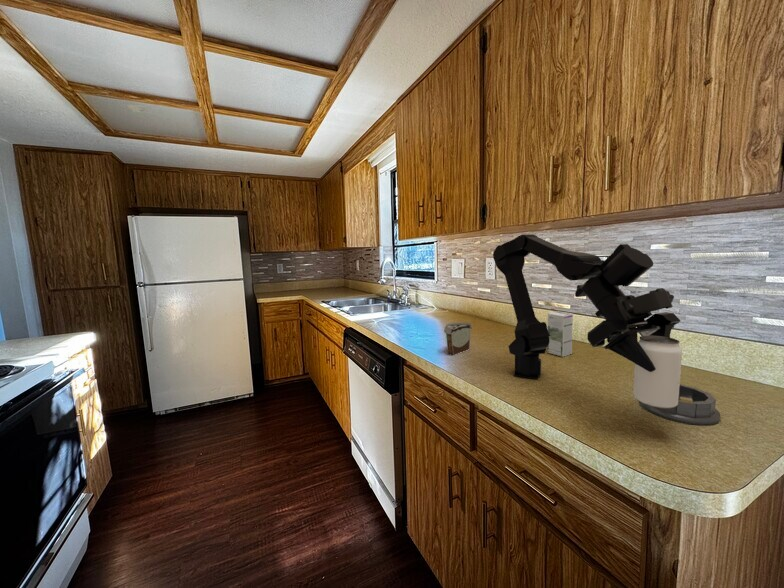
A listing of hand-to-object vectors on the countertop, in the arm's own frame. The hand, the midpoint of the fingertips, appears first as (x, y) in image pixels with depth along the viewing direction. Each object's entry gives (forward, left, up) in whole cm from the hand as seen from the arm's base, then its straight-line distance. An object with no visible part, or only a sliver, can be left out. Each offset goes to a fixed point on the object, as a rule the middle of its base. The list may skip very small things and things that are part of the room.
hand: (665, 368), depth 57 cm
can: (-1, +1, -7) cm, 7 cm away
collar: (+5, +14, -13) cm, 20 cm away
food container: (-52, +37, -13) cm, 65 cm away
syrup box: (-18, +47, -13) cm, 52 cm away
